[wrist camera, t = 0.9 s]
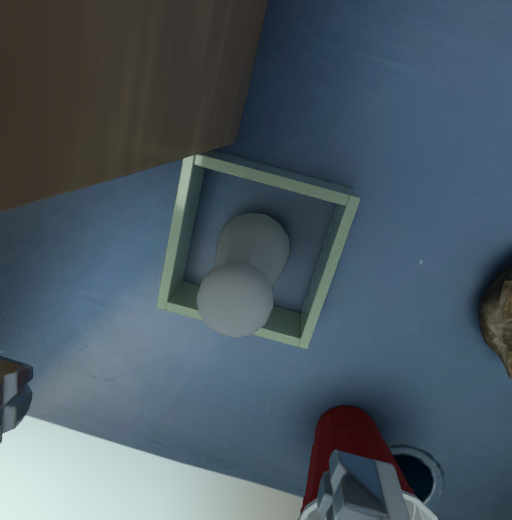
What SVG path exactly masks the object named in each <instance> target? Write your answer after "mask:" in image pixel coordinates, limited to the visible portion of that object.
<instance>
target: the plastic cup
mask: <svg viewBox="0 0 512 520" xmlns="http://www.w3.org/2000/svg"><path fill="white" fill-rule="evenodd" d="M335 449H336V450H340V451H343V452H347V453H351V454H355V455H358V456H362V457H366V458H369V459H374V460H378V461H382V462H386V463H390V464H392V465H393V466H394V467H395V470H396V473H397V477H398V480H399V483H400V487H401V490H402V493H403V497H404V500H405V504H406V507H407V510H408V514H409V517H410V520H438V518H437V517H436V515H435V514H434V513H433V512H432V511H431V510H430V509H429V508H428V507H427V506H426V505H425V504H423V503H422V502H421V501H420V500H419V498H417V497H416V495H415V494H414V492H413V490H412V488H410V487H409V485H408V483H407V481H406V480H405V478H404V476H403V474H402V472H401V470H400V468H399V466H398V464H397V462H396V461H395V459H394V457H393V455H392V453H391V451H390V449H389V447H388V445H387V444H386V442H385V441H384V440H383V438H382V436H381V434H380V432H379V430H378V428H377V426H376V424H375V422H374V421H373V420H372V418H371V417H370V416H369V415H368V414H367V413H366V412H365V411H363V410H361V409H359V408H356V407H354V406H339V407H335V408H331V409H330V410H328V411H327V412H326V413H324V414H323V415H322V416H321V418H320V420H319V421H318V425H317V426H316V432H315V439H314V445H313V447H312V452H311V459H310V465H309V472H308V479H307V485H306V492H305V496H304V498H303V506H302V508H301V513H300V517H299V518H298V520H321V518H320V516H319V515H318V513H317V497H318V490H319V485H320V481H321V478H322V476H323V473H324V472H326V471H328V470H329V458H330V456H331V454H332V452H333V451H334V450H335Z"/></svg>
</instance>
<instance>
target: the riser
mask: <svg viewBox="0 0 512 520" xmlns="http://www.w3.org/2000/svg"><path fill="white" fill-rule="evenodd" d="M267 4H268V0H0V213H1V212H4V211H8V210H11V209H14V208H18V207H21V206H25V205H28V204H31V203H35V202H38V201H41V200H45V199H48V198H52V197H55V196H58V195H62V194H65V193H68V192H72V191H75V190H78V189H82V188H85V187H89V186H92V185H95V184H99V183H102V182H105V181H109V180H112V179H116V178H119V177H122V176H126V175H129V174H132V173H136V172H139V171H142V170H146V169H149V168H153V167H156V166H159V165H163V164H166V163H169V162H173V161H176V160H180V159H183V158H186V157H190V156H193V155H196V154H200V153H203V152H206V151H210V150H213V149H217V148H220V147H223V146H227V145H230V144H233V143H236V142H237V137H238V133H239V128H240V124H241V119H242V115H243V110H244V106H245V101H246V97H247V93H248V88H249V84H250V79H251V75H252V70H253V66H254V61H255V57H256V52H257V48H258V44H259V39H260V35H261V30H262V26H263V21H264V17H265V12H266V8H267Z"/></svg>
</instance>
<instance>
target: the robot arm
mask: <svg viewBox="0 0 512 520" xmlns="http://www.w3.org/2000/svg"><path fill="white" fill-rule="evenodd" d="M32 379H33V367H32V366H30V365H28V364H25V363H22V362H18V361H15V360H12V359H9V358H5V357H2V356H0V443H1V442H2V433H5V432H7V431H9V430H12V429H14V428H15V427H16V426H17V425H18V424H19V423H20V422H21V421H22V419H23V418H24V416H25V415H26V413H27V411H28V410H29V407H30V404H31V400H32V391H31V389H30V387H29V386H28V384H27V383H28V382H29V381H31V380H32ZM317 513H318V515H319V516H320V518H321V520H410V517H409V514H408V510H407V507H406V504H405V500H404V497H403V493H402V490H401V487H400V483H399V480H398V477H397V473H396V470H395V467H394V466H393V465H392V464H390V463H386V462H382V461H378V460H374V459H369V458H366V457H362V456H358V455H355V454H351V453H347V452H343V451H340V450H336V449H335V450H334V451H333V452H332V454H331V456H330V458H329V470H328V471H326V472H324V473H323V476H322V478H321V481H320V485H319V490H318V497H317Z"/></svg>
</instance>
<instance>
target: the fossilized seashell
mask: <svg viewBox="0 0 512 520" xmlns="http://www.w3.org/2000/svg"><path fill="white" fill-rule="evenodd" d="M478 315H479V321H480V330H481V333H482V336H483V339H484V342H485V343H486V344H487V345H488V346H489V347H490V348H491V349H492V350H494V351H495V353H496V354H497V355H498V356H499V358H500V359H501V361H502V362H503V364H504V366H505V368H506V371H507V374H508V376H509V377H510V378H511V379H512V265H510V266H509V267H507V268H506V269H504V270H503V271H502V272H500V273H499V274H498V275H497V276H496V277H495V279H494V280H493V281H492V282H491V283H490V285H489V287H488V288H487V289H486V291H485V293H484V294H483V296H482V298H481V301H480V304H479V313H478Z"/></svg>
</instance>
